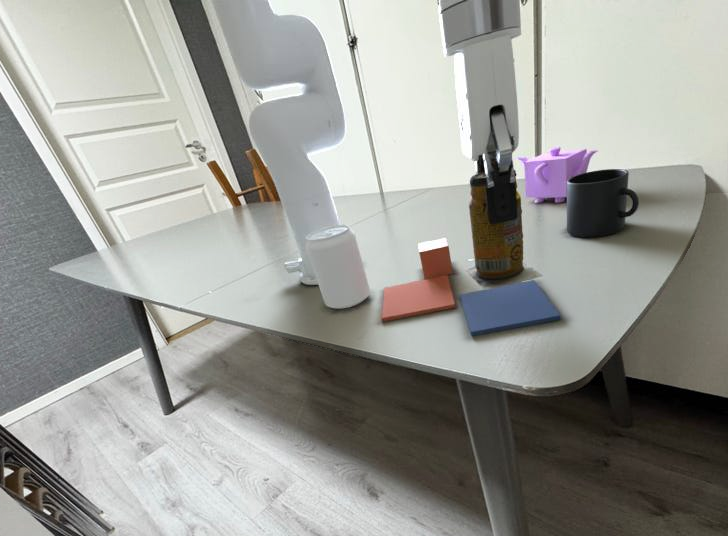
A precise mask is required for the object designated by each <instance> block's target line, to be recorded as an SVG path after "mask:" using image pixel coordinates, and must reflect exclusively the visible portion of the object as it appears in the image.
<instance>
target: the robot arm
mask: <svg viewBox="0 0 728 536" xmlns="http://www.w3.org/2000/svg"><path fill="white" fill-rule="evenodd" d="M520 2H521V1H520V0H437V7H438V15H439V23H440V30H441V31H440V32H441V38H442V46H443V54H444V57H445V58H450V57H454V76H455V77H454V78H455V91H456V100H457V101H456V102H457V111H458V122H459V131H460V142H461V152H462V154H463V155H464V156H465V157H467V158H468V159H469V160H470V161H472V162H474V167H475V175H476V174H478V173H481V172H486V178H487V185H488V187H486V188H485V194H486V204H487V213H488V222H489V223H490V224H491V225H493V224H498V223H502V222H507V221H512V220H515V219H517V217H518V213H517V197H516V190H517V189H516V182H517V181H516V182H515V174H514V170H515V167H514V160H513V153H514V152H515V151H516V150H517V148H518V147H519V143H520V132H519V131H520V125H519V105H518V93H517V82H516V81H517V80H516V71H515V70H516V69H515V58H514V51H513V42H512V41H513V39H516V38H518V37H521V36H522V21H521V20H522V19H521V3H520ZM211 3H212V7H213V9H214V12H215V14H216V17H217V20H218V22H219V25H220V29H221V31H222V35H223V37H224V39H225V42H226V44H227V47H228V49H229V53H230V55H231V58H232V60H233V63H234V66H235V68H236V70H237V73H238V75H239V76H240V78H241V81H242V82H243V84H245V85H246V87H248V88H249V89H251V90H253V91H259V92H261V91H272V90H273V91H274V90H278V89H284V88H289V87H295V86H298V87H299V89H300V91H301V93H298V94H291V95H286V96H281V97H276V98H270V99H268V100H265V101H262V102H261V103H259V104H257V105H256V106H255V107H254V108H253V110H251V113H250V115H249V119H248V127H249V132H250V135H251V136H250V137H251V138H252V141H253V143H254V145H255V147H256V149H257V151H258V152H259V155H260V156H261V158H262V161H263V162H264V164H265V166H266V168H267V171H268V172H269V174H270V176H271V178H272V182H273V183H274V186H275V189H276V192H277V194H278V197H279V200H280V202H281V203H280V204H281V205H282V208H283V210H284V211H283V212H284V213H285V216H286V219H287V222H288V225H289V228H290V230H291V233H292V236H293V239H294V241H295V244H296V247H297V250H298V253H299V255H300V257H299V258H298V259H297V260H295V261H288V262H284V263H283V266H284V267H283V268H284V270H285V271H286V272H287V273H288V274H293V273H297V272H299V273H301V274H300V275H299V278H300V281H301V282H302V284H303V285H308V286H317V285H318V282H317V279H316V276H315V273H314V270H313V267H312V264H311V261H310V259H309V256H308V253H307V250H306V242H307V240H306V237H307V236H308V235H309V234H311V233H313V232H315V231H317V230H320V229H323V228H326V227H330V226H335V225H341V223H340V220H339V217H338V213H337V208H336V205H335V202H334V199H333V195H332V192H331V188H330V186H329V182H328V180H327V177H326V176H325V174H324V173H323V171H322V170H321V169H320V168H319V166H317V165H316V164H315V162H313V160H312V159H310V156H312V155H315V154H318V153H322V152H325V151H328V150H331V149H334V148H336V147H338V146H339V145H342V143H343V141H344V139H345V137H346V134H347V120H346V114H345V109H344V105H343V102H342V97H341V94H340V89H339V87H338V82H337V78H336V75H335V71H334V67H333V64H332V60H331V56H330V53H329V49H328V46H327V43H326V41H325V38H324V36H323V34H322V32H321V31H320V29H319V27H318V26H317V25H316V23H315V22H314V21H313V20H312V19H310V18H308V17H307V16H305V15H301V14H281V15H279V14H277V13H276V12H275V11H274V8H273V7H272V4H271V1H270V0H211ZM492 170H493V173H492ZM318 286H319V285H318Z"/></svg>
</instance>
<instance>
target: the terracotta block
mask: <svg viewBox="0 0 728 536" xmlns="http://www.w3.org/2000/svg"><path fill="white" fill-rule="evenodd" d="M418 253H419V258H420V263H421V267H422V268H421V269H422V273H423V274H422V275H423V280H426V279H430V278H435V277H440V276H445V275H448V276H450V275H454V272H453V266H452V265H453V264H452V259H451V253H450V246H449V243H448V240H447V237H442V238H438V239H434V240H429V241H424V242H420V243H419V242H418Z"/></svg>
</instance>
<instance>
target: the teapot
mask: <svg viewBox="0 0 728 536" xmlns="http://www.w3.org/2000/svg"><path fill="white" fill-rule="evenodd" d="M561 149H562V148H561V147H560V146H556V147H552V148H549V149H548V152H544V153H542V154H540V155H537V156H535V157H533V158H531V159H529V158H527V157H525V156H523V157H522V156H521V157H517V158H516V159H517V160H519V161H520V162H521V164H522V165H523V168H524V184H525V185H524V187H525V198H526V199H527V198H528V199H529V198H531V199H532V198H533V199H534V198H536V199H535V200H534V203H535V204H538V203H543V202H544V201H545V199H546V198H554V203H557V204H558V203H563V202H565V201H566V198H567V180H568V179H570V178H571V177H574V176H576V175H579V174H583V173H587V171H588V168H589V165H590V161H591V159H592V157H593V156H594V154H596V153H597V152H599V151H600V149H594V150H590V151H588V150H587V148H582V149H572V150H571V149H570V150H561ZM587 151H588V152H587Z"/></svg>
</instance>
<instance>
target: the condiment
mask: <svg viewBox="0 0 728 536" xmlns="http://www.w3.org/2000/svg"><path fill="white" fill-rule="evenodd" d="M492 173H493V170H492ZM514 174H515V182H516V197H517V213H518V217H517V219H515V220H512V221H507V222H502V223H498V224H493V225H491V224H490V223H489V222H488V213H487V204H486V194H485V188H486V187H488V185H487V178H486V172H481V173H478V174H476V173H475V174H473V175H472V176H471V177H470V179H469V187H470V196H471V199H470V201H469V203H468V209H469V218H470V219H469V221H470V229H471V238H472V247H473V256H474V266H471V267H470V266H469V267H467V268H463V270H464V271H465V272H466V273H467V275H469V277H470V278H472V279H473V280H474V281H475V282H476V283H477V284H478V285H479V287H481V288H482V290H487V289H494V288H499V287H503V286H508V285H512V284H516V283H518V284H519V283H521V282H526V281H531V280H535V279H537V278H541V277H544V274H541V273H540V272H538V271H537V270H536V269H534V268H533V267H532V266H530V265H528V264H526V263H524V233H523V217H522V215H523V209H522V197H521V194H520V193H519V192H518V190H517V189H518V183H517V175H518V174H517V171H516V169H514Z"/></svg>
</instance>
